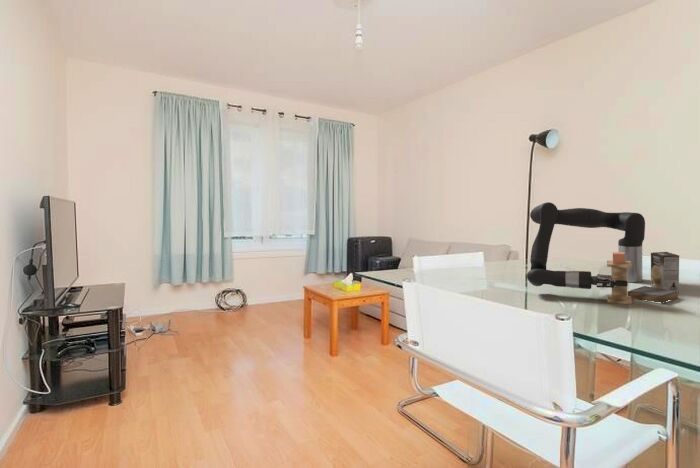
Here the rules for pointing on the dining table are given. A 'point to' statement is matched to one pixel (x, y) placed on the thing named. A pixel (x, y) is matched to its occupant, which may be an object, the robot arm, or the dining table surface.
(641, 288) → the dock
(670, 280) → the coffee box
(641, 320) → the dining table surface
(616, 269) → the wooden pedestal
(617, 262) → the block
